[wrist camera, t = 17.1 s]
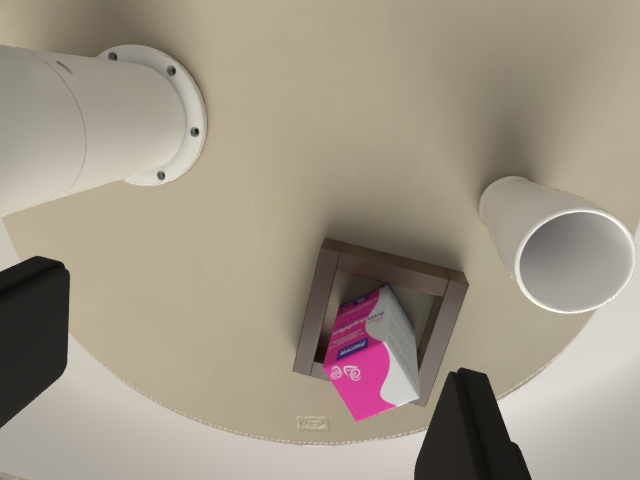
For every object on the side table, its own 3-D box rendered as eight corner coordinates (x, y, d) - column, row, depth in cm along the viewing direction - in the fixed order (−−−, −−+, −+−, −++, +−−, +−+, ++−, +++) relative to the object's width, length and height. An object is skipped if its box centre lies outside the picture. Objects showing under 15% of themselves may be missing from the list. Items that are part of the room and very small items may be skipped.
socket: (297, 355, 48) (292, 371, 45) (324, 237, 44) (320, 247, 41) (423, 389, 47) (425, 407, 44) (463, 272, 43) (469, 284, 40)
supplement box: (387, 280, 44) (387, 339, 33) (415, 328, 45) (424, 401, 34) (336, 304, 46) (320, 369, 35) (364, 350, 47) (358, 427, 36)
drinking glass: (504, 151, 39) (572, 182, 25) (566, 195, 39) (667, 251, 25) (453, 212, 41) (488, 273, 27) (512, 254, 41) (577, 336, 27)
